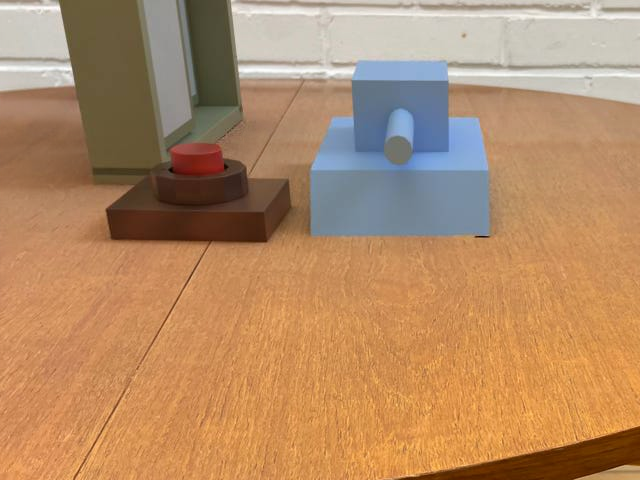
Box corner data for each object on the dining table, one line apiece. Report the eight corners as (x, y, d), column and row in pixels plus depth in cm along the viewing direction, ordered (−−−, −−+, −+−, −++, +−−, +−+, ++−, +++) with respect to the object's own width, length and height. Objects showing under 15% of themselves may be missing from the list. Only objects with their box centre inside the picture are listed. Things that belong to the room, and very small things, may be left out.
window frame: (94, 184, 80) (45, -64, 71) (188, 117, 104) (161, -75, 95) (165, 186, 80) (127, -63, 71) (243, 118, 104) (222, -74, 95)
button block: (111, 240, 68) (99, 182, 66) (151, 204, 75) (142, 151, 73) (267, 243, 68) (261, 185, 65) (291, 207, 75) (286, 154, 73)
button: (166, 179, 68) (163, 153, 67) (181, 166, 71) (177, 142, 70) (217, 180, 68) (214, 154, 67) (230, 167, 71) (227, 142, 70)
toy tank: (493, 104, 64) (299, 103, 64) (491, 241, 69) (310, 242, 69) (479, 53, 83) (328, 52, 82) (477, 164, 88) (335, 163, 87)
